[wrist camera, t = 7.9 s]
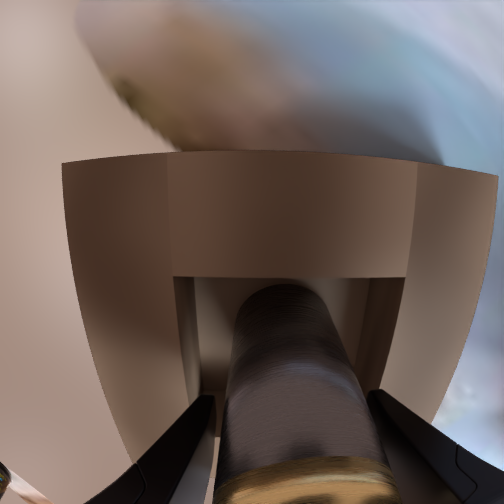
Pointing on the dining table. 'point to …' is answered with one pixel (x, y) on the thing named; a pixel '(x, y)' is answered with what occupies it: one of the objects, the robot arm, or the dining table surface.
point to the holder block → (270, 268)
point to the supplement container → (4, 479)
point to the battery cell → (296, 411)
